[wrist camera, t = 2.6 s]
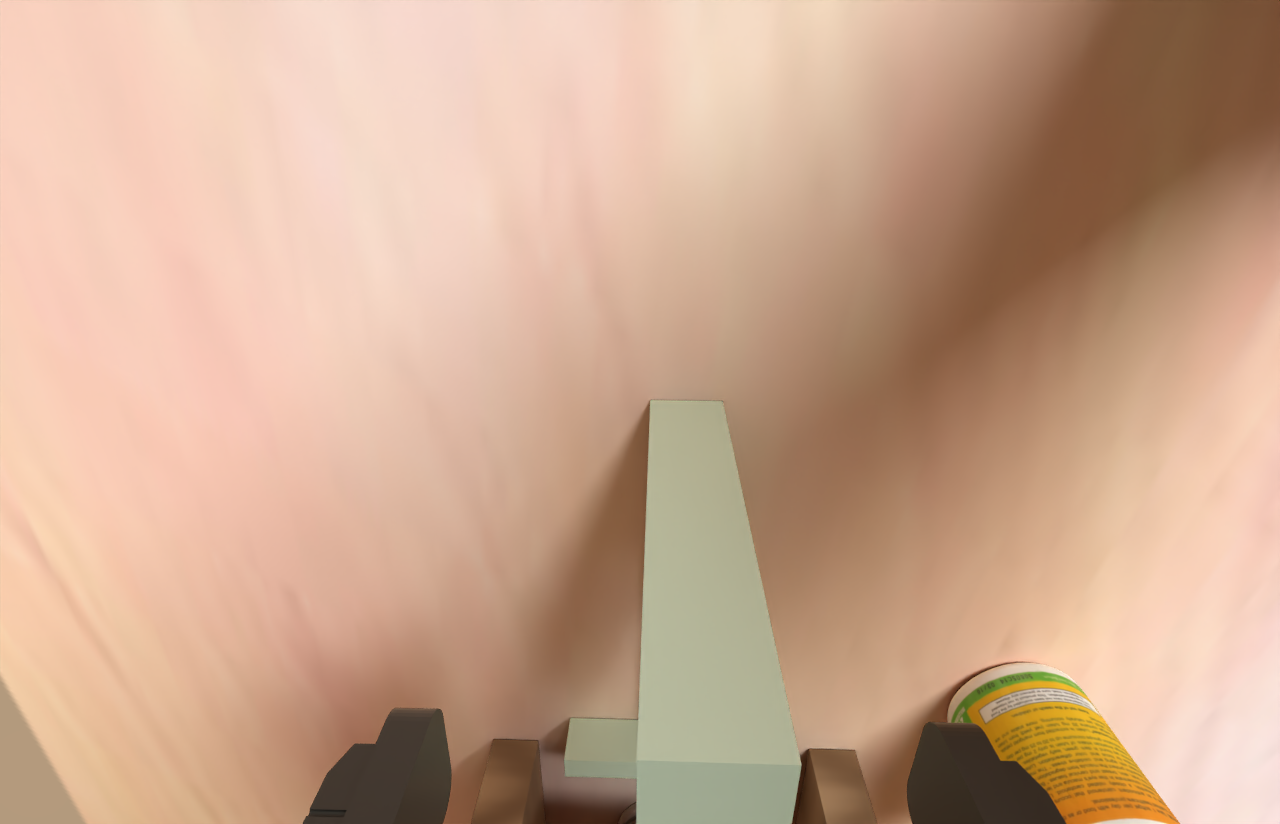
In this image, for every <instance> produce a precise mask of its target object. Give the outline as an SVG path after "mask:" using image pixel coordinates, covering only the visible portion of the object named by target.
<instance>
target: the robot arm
mask: <svg viewBox="0 0 1280 824" xmlns="http://www.w3.org/2000/svg"><path fill="white" fill-rule="evenodd" d="M450 789H451V764H450V757H449V751H448V744H447V738H446V732H445V725H444V719H443V713H442V711H441V710H440V709H425V708H394V709H393V710H392V711H391V712H390V714H389V715H388V717H387V719H386V721H385V724H384V726H383V728H382V730H381V733H380V735H379V737H378V740H377V742H376V744H354V745H353V746H352V747H351V748H350V749H349V751H348V752H347V753H346V754H345V755H344V756H343V757H342V758H341V759H340V760H339V761H338V762H337V763H336V765H335V766H334V767H333V768H332V769H331V770H330V771H329V772H328V773H327V775H326V777H325V779H324V781H323V783H322V785H321V787H320V789H319V791H318V793H317V795H316V797H315V799H314V801H313V803H312V805H311V808H310V813H309V815H308V816H306V818H305V820H304V822H303V824H443V821H444V818H445V814H446V810H447V806H448V802H449V796H450ZM907 799H908V807H909V812H910V816H911V820H912V823H913V824H1066V822H1065V820H1064V819H1063V817H1062V815H1061V814H1060V812H1059V810H1058V809H1057V807H1056V805H1055V804H1054V802H1053V800H1052V799H1051V797H1050V795H1049V794H1048V792H1047V791H1046V790H1045V789H1044V788H1043V787H1042V786H1041V785H1040V784H1039V783H1038V782H1037V781H1036V780H1035V779H1034V778H1033V777H1032V776H1031V775H1030V774H1029V773H1028V772H1027V771H1026V770H1025V769H1024V768H1023V767H1022V766H1021V765H1020V764H1019V763H1018V762H1017V761H1000V759H999V757H998V755H997V753H996V752H995V750H994V748H993V746H992V744H991V743H990V741H989V739H988V737H987V735H986V734H985V732H984V731H983V730H982V728H981V727H979V726H978V725H977V724H974V723H946V722H928V723H927V724H926V725H925V726H924V728H923V731H922V735H921V738H920V741H919V745H918V748H917V752H916V755H915V758H914V762H913V765H912V768H911V772H910V775H909V779H908V784H907Z"/></svg>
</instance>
